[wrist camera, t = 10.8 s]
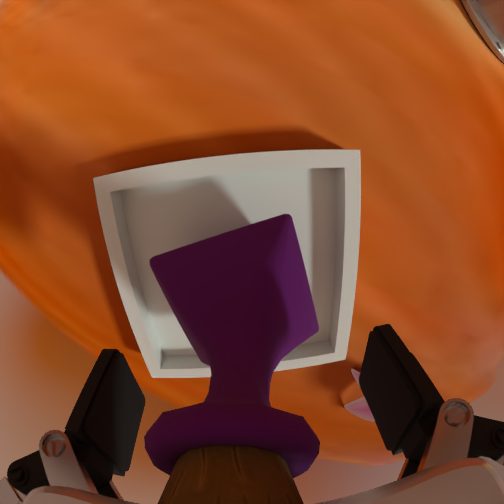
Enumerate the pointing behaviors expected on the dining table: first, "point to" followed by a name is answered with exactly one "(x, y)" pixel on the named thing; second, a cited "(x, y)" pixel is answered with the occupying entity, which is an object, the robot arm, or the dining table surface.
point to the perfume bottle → (236, 367)
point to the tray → (226, 219)
